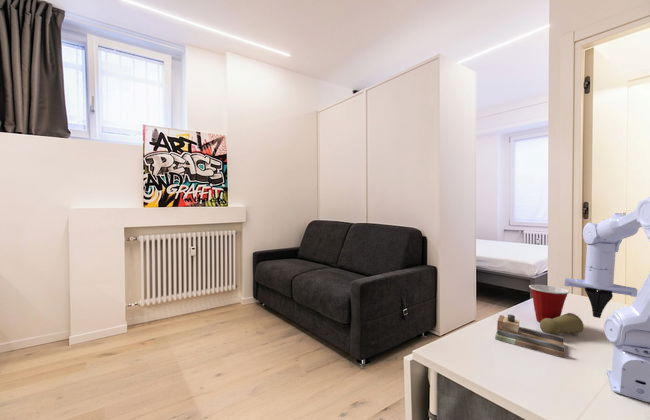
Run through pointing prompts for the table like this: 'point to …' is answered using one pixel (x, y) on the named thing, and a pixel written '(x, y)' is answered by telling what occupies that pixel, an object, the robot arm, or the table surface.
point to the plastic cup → (548, 301)
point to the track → (532, 339)
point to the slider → (510, 324)
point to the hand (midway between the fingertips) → (596, 316)
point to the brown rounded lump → (562, 324)
